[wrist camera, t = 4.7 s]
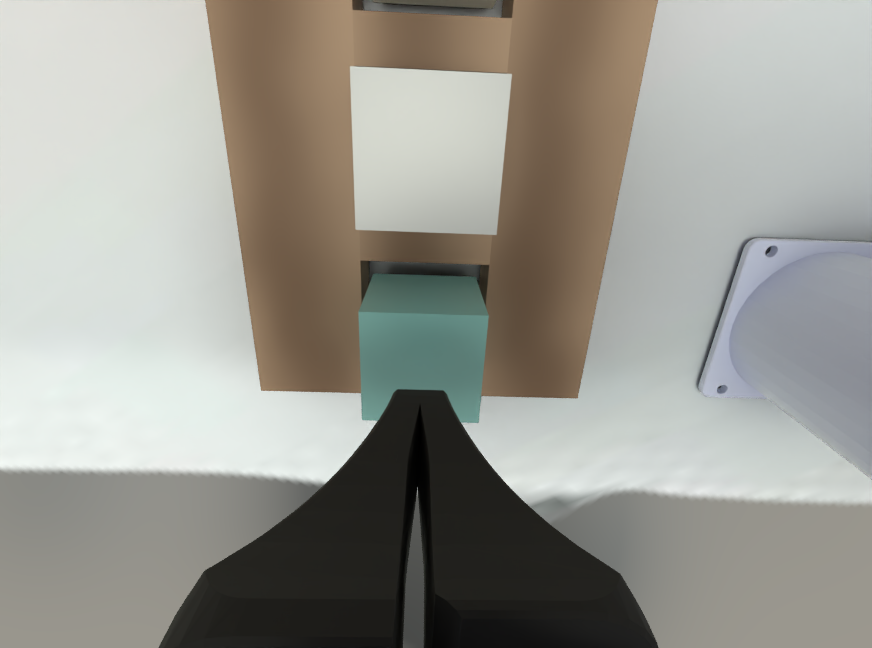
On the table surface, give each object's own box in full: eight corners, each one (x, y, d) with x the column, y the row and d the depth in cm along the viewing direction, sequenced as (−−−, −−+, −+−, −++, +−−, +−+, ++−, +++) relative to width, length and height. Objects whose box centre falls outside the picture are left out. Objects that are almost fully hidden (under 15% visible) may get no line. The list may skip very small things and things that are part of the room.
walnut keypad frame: (660, -183, 14) (707, -248, 11) (561, 370, 22) (577, 398, 19) (209, -214, 13) (163, -287, 11) (279, 362, 21) (261, 390, 19)
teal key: (475, 276, 17) (488, 315, 13) (468, 366, 19) (478, 422, 15) (373, 273, 17) (358, 311, 13) (375, 363, 18) (362, 420, 15)
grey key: (490, 89, 14) (512, 73, 11) (480, 211, 16) (496, 234, 12) (369, 83, 14) (349, 66, 11) (372, 207, 16) (355, 229, 12)
